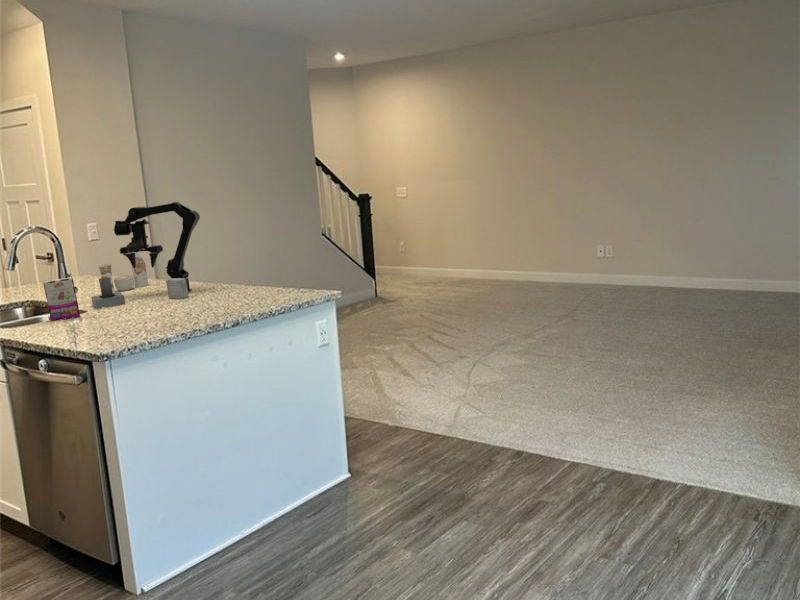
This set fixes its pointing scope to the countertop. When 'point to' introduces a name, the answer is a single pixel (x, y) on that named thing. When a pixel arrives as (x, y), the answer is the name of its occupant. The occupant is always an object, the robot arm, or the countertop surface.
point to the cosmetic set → (128, 281)
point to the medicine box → (177, 288)
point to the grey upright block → (105, 286)
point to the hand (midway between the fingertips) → (143, 267)
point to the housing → (108, 300)
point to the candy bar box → (61, 298)
